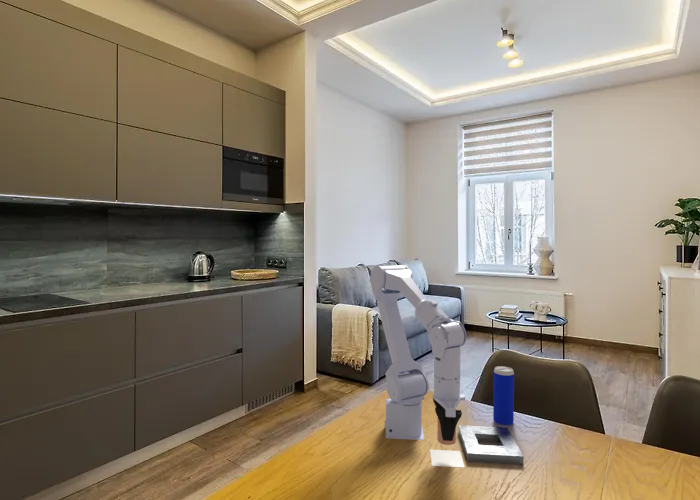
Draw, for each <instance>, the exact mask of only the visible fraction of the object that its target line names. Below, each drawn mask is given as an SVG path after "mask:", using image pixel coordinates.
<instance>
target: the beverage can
mask: <svg viewBox="0 0 700 500" xmlns="http://www.w3.org/2000/svg"><path fill="white" fill-rule="evenodd" d="M514 371H515V370H514V369H513V368H512V367H509V366H505V365H504V366H503V365H500V366H499V365H498V366H495V367H494V370H493V402H492V403H493V405H492V407H493V408H492V409H493V414H492V415H493V416H492V417H493V422H494V423H495V424H497V425H500V426H504V427H507V426H512V425H513V424H514V418H515V417H514V415H515V414H514V413H515V412H514V411H515V410H514V409H515V407H514V405H515V403H514V401H515V400H514V399H515V372H514Z"/></svg>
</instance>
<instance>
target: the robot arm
mask: <svg viewBox="0 0 700 500" xmlns="http://www.w3.org/2000/svg"><path fill="white" fill-rule="evenodd" d="M369 276H370V277H369V284H370V288H371V291H372V294H373V298H374V299H375V300H376V304H377V307H378V312H379V315H380V320H381V323H382V328H383V332H384V336H385V339H386V343H387V347H388V351H389V355H390V359H391V365H390V366H389V367H388V369H387V370H386V371H385V374H384V375H385V378H386V381H385V382H386V388H385V389H386V393H387V396H388V397H389V398H386V399H385V420H384V428H385V438H386V439H394V440H395V439H396V440H413V441H414V440H415V441H424V440H425V435H424V428H423V424H422V423H423V421H422V419H423V417H422V416H423V409H422V408H423V401H424V400H425V396H427V394H428V392H429V389H430V381H429V379H428V377H427V375H426V373H425V372H424V369H423V366H422V365H421V363H418V362H417V361H415V360H414V359H413V358H412V354H411V351H410V347H409V344H408V343H409V342H408V340H407V335H406V333H405V332H406V331H405V328H404V327H405V326H404V325H403V321H402V316H401V312H400V309H399V306H398V300H399V299H400V298H401V297H402V296H403V297H404V298H405V299H406V300H407V301H408V302H409V303H410V305H412V306H413V307H414V308H415V310H414V314H415V317H416V318H417V320H418V321H419V322H420V323H421V325H422V326H423V327H424V328H425V329H426V331H427V332H428V340H429V343H430V346H431V353H432V355H433V358H434V359H433V360H434V362H433V363H434V364H433V365H434V366H433V368H434V369H433V393H432V401H433V403H434V405H435V407H434V411H435V414H436V416H437V420H438V419H439V421H440V426H441V434H442V438H443V440H444V441H452V440H453V437H454V433H455V429H457V425H458V422H459V421H460V419H461V417H462V414H463V412H462V410H461V409H459V410H458V409H457V407H458V405H459V404H460V402H461V401H465V400H466V395H465V394H463V393H461V347H463V346H464V344H465V343H466V341H467V332H466V328H465V327H464V326H463V324H462V323H461V321H459V320H453V319H452V318H449V316H448V315H447V314H446V313H445V312H444V310H443V309H442V308H441V307H440V306H439V303H438V302H437V301H436V300H433V299H427V298H426V296H425V295H424V293H423V292H422V291H421V289H420V288H419V286H418V285H417V284H416V282H415V280H413V271H412V270H411V269H410V268H409V267H408V265H406V264H398V265H374V266H373V267H372V269H371V271H370V275H369Z"/></svg>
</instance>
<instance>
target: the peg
mask: <svg viewBox="0 0 700 500" xmlns="http://www.w3.org/2000/svg"><path fill="white" fill-rule="evenodd" d="M456 429H457V428H456ZM456 429H455V433H454V437H453V440H452V441H444V440H443V438H442V434H441V426H440V421H439V419H438V418H437V433H436V435H437V442H438V443H440V444H441V445H443V446H444V445H445V446H452V445H454V444H456V437H457V436H456V434H457V432H456V431H457V430H456Z"/></svg>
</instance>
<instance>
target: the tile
mask: <svg viewBox="0 0 700 500" xmlns="http://www.w3.org/2000/svg"><path fill="white" fill-rule="evenodd" d="M429 455H430V461H431V466H433V467H446V468H447V467H448V468H460V469H461V468H464V469H465V463H464V460H463V457H462V453H461V451H460V450H445V449H430V448H429Z"/></svg>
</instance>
